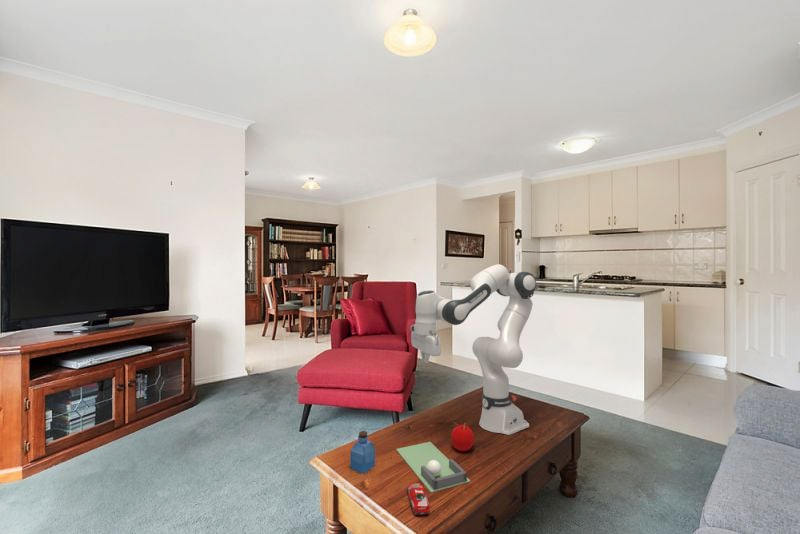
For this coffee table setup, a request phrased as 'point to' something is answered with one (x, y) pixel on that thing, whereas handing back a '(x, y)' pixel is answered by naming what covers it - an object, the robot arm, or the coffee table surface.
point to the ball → (434, 467)
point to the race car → (418, 499)
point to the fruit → (462, 438)
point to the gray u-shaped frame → (446, 480)
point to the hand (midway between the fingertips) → (425, 362)
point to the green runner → (426, 461)
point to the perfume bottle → (362, 454)
